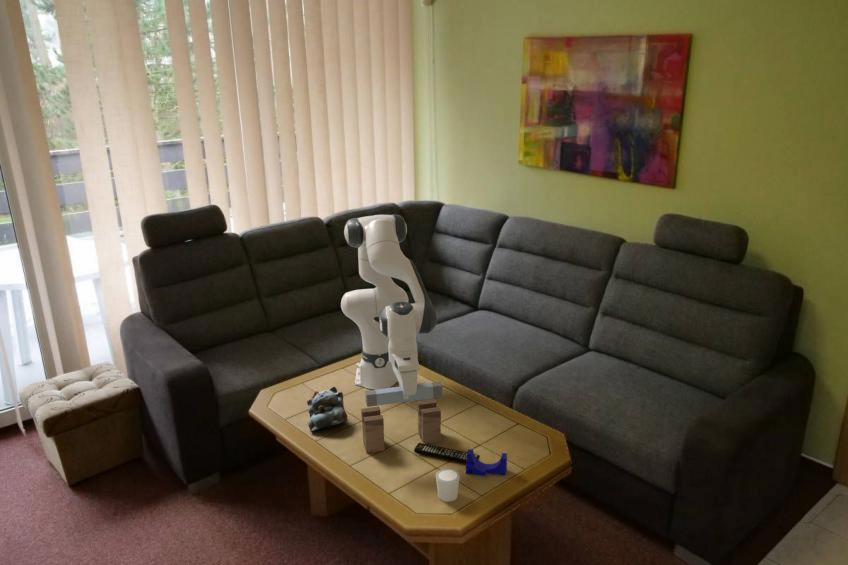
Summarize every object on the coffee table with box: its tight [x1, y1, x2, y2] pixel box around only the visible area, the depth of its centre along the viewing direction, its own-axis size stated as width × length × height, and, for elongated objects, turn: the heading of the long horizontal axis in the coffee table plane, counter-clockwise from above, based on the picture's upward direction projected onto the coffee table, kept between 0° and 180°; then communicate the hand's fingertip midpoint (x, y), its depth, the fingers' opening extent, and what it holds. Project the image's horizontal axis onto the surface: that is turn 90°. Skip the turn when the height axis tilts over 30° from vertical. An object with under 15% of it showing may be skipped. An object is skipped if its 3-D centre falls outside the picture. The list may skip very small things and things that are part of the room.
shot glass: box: [435, 468, 460, 503], centre depth 188 cm, size 7×7×7 cm
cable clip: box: [465, 448, 508, 477], centre depth 199 cm, size 12×4×6 cm, turn 76°
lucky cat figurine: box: [306, 386, 349, 432], centre depth 228 cm, size 15×12×14 cm
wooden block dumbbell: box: [360, 398, 442, 454], centre depth 215 cm, size 8×25×12 cm, turn 103°
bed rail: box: [364, 381, 443, 408], centre depth 204 cm, size 3×24×4 cm, turn 103°
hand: (404, 395), depth 204 cm, fingers closed on bed rail, 3 cm apart
